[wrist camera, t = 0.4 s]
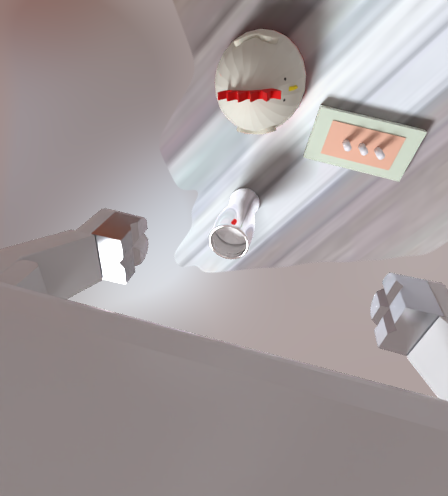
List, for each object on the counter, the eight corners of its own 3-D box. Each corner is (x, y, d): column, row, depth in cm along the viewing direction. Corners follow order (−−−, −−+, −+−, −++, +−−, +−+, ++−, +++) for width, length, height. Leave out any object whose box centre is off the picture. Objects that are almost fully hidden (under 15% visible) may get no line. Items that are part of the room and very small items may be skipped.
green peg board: (320, 104, 47) (321, 111, 43) (422, 129, 46) (434, 138, 42) (303, 153, 52) (303, 164, 48) (396, 177, 51) (404, 189, 47)
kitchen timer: (301, 128, 50) (299, 157, 38) (221, 129, 53) (196, 155, 41) (310, 25, 42) (310, 20, 30) (215, 32, 45) (182, 31, 33)
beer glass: (228, 183, 59) (208, 220, 47) (264, 188, 57) (252, 228, 46) (226, 214, 63) (207, 256, 51) (259, 219, 62) (247, 263, 50)
